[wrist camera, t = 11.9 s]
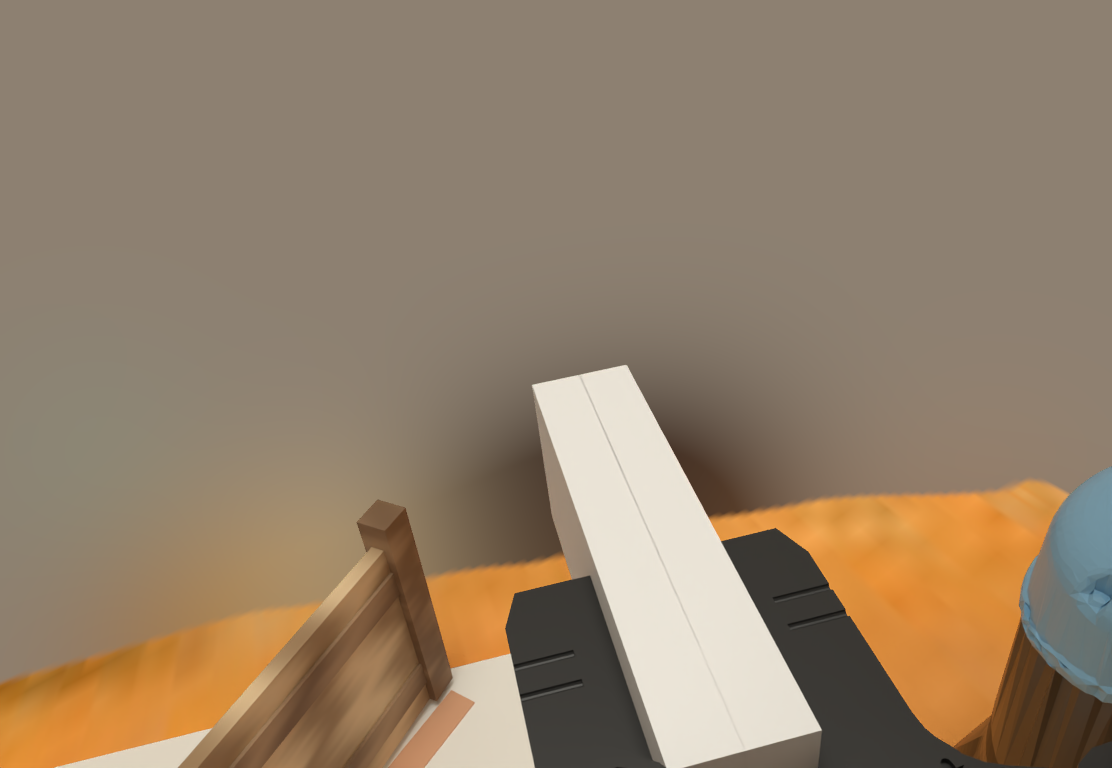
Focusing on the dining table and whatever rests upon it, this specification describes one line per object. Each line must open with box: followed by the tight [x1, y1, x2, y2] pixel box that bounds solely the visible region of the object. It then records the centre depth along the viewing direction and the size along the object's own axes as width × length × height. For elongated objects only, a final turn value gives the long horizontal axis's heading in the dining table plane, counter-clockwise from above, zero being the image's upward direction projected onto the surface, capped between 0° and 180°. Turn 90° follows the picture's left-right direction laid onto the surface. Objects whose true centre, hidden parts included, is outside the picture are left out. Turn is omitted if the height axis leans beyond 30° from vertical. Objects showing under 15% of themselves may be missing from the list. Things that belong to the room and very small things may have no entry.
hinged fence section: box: [178, 500, 453, 768], centre depth 42 cm, size 19×2×14 cm, turn 153°
